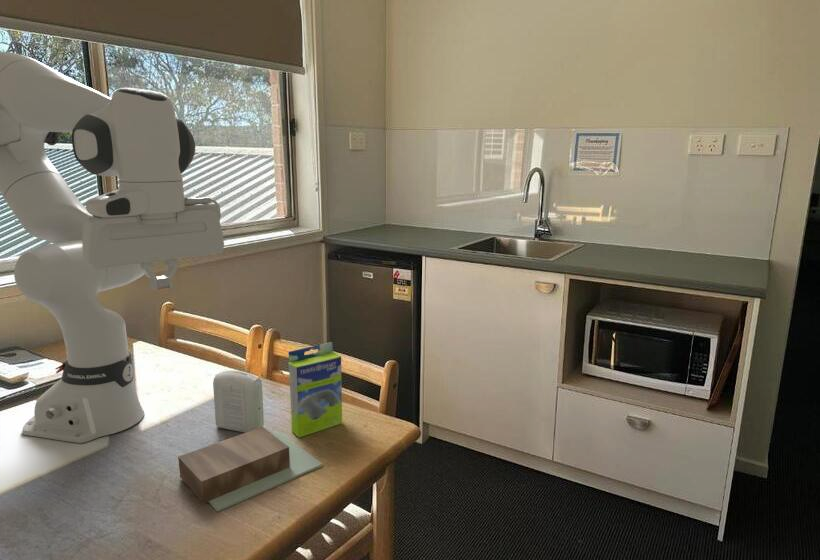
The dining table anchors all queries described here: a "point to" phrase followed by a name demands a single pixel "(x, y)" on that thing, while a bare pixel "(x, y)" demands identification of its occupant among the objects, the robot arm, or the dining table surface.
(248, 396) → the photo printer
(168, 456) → the dining table surface
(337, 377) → the box
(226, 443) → the walnut block
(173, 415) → the dining table surface
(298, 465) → the mat
